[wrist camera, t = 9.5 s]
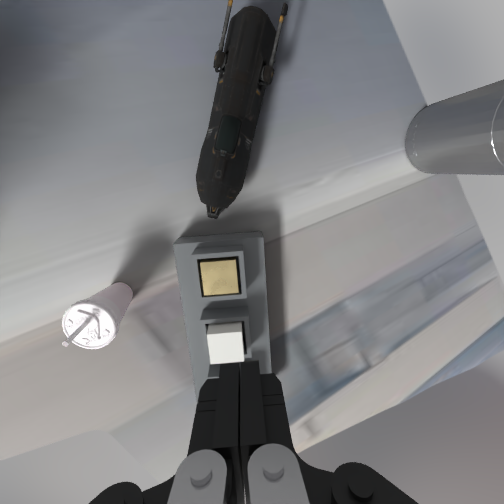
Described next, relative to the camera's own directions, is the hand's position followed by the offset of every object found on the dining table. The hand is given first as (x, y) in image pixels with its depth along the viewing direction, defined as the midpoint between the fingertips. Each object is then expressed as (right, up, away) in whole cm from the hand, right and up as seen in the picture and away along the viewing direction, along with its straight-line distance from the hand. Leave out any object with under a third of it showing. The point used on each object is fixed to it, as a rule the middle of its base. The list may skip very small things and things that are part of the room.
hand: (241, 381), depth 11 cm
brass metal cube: (-4, +3, +28) cm, 28 cm away
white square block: (-3, -6, +29) cm, 30 cm away
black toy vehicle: (-2, +22, +27) cm, 35 cm away
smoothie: (-20, -1, +33) cm, 38 cm away
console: (-3, -5, +34) cm, 35 cm away
